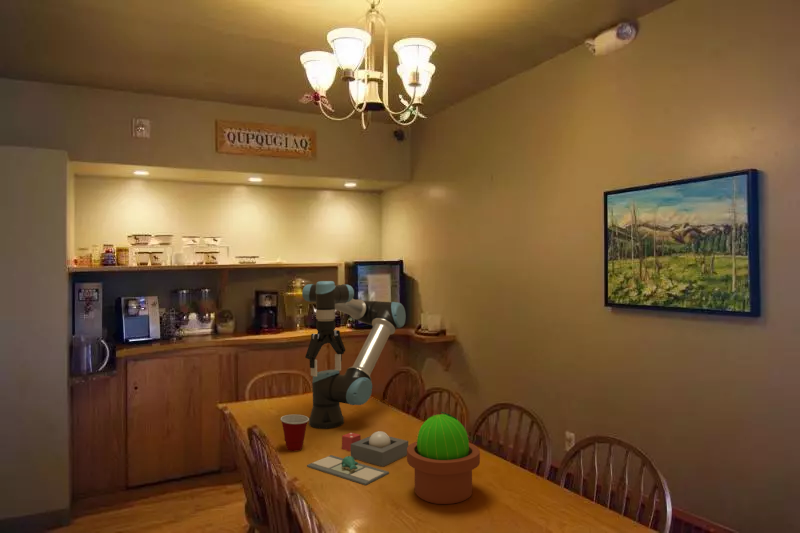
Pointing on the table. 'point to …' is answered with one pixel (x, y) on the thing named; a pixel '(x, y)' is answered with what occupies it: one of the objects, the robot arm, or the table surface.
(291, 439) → the plastic cup
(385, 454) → the dome collar
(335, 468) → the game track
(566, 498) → the table surface
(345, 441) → the red die
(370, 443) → the white ball
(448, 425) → the potted cactus
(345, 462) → the turtle figurine
